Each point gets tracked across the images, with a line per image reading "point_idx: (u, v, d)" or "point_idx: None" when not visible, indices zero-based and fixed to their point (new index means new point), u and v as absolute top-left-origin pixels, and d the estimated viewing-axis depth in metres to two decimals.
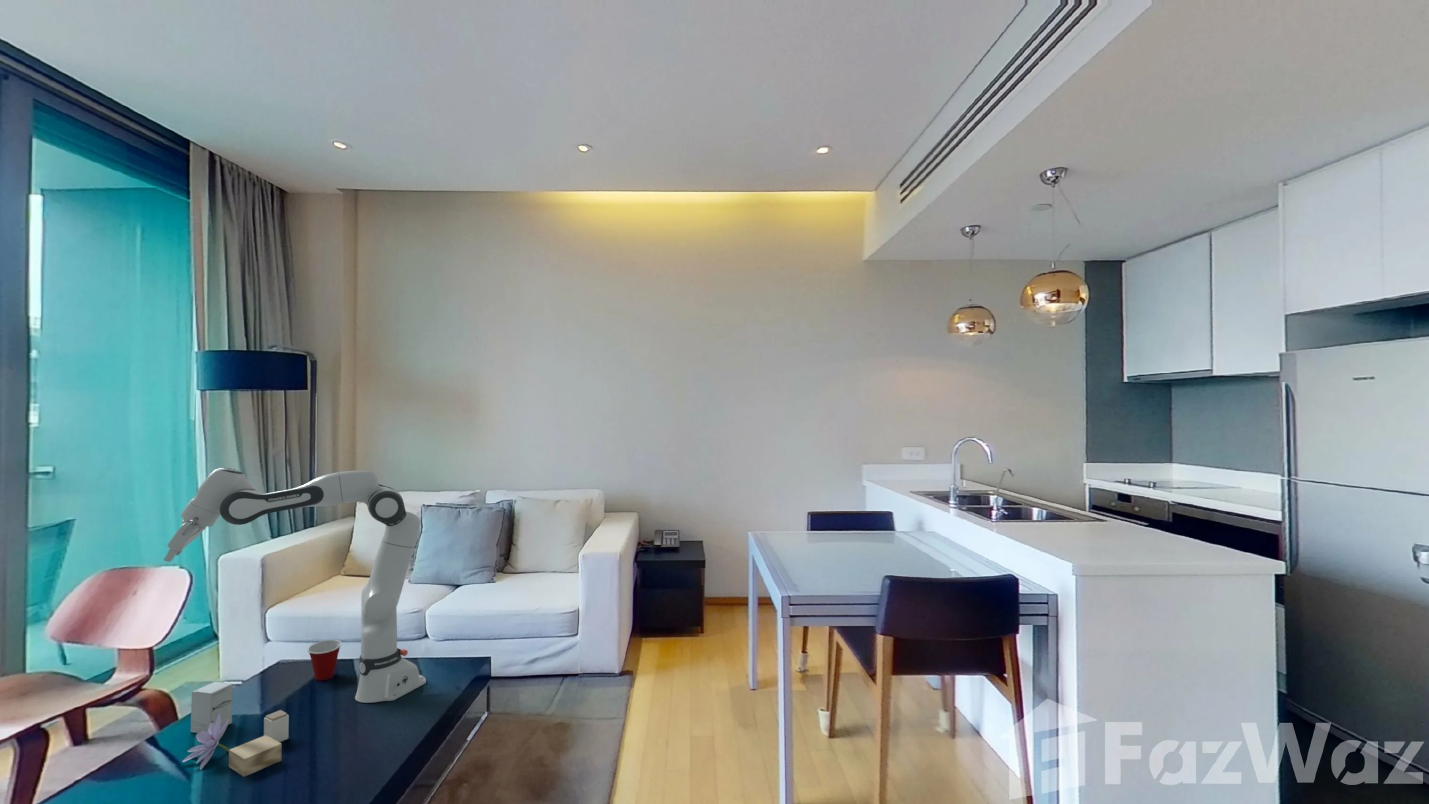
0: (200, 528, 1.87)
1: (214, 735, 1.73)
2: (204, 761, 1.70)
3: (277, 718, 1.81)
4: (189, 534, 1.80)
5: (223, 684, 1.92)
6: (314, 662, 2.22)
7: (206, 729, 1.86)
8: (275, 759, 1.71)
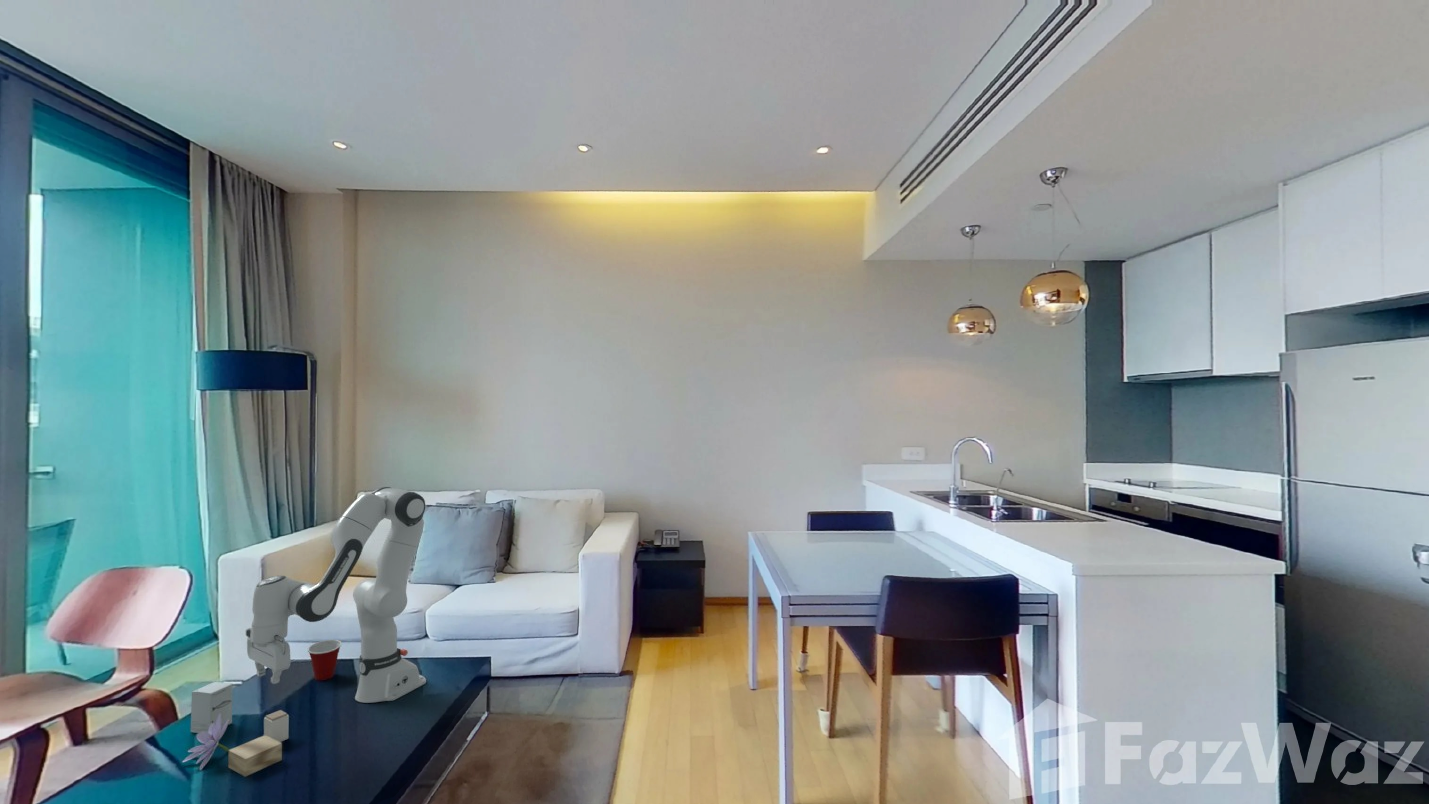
0: None
1: (214, 735, 1.73)
2: (204, 761, 1.70)
3: (277, 718, 1.81)
4: (288, 650, 1.78)
5: (223, 684, 1.92)
6: (314, 662, 2.22)
7: (206, 729, 1.86)
8: (275, 758, 1.71)
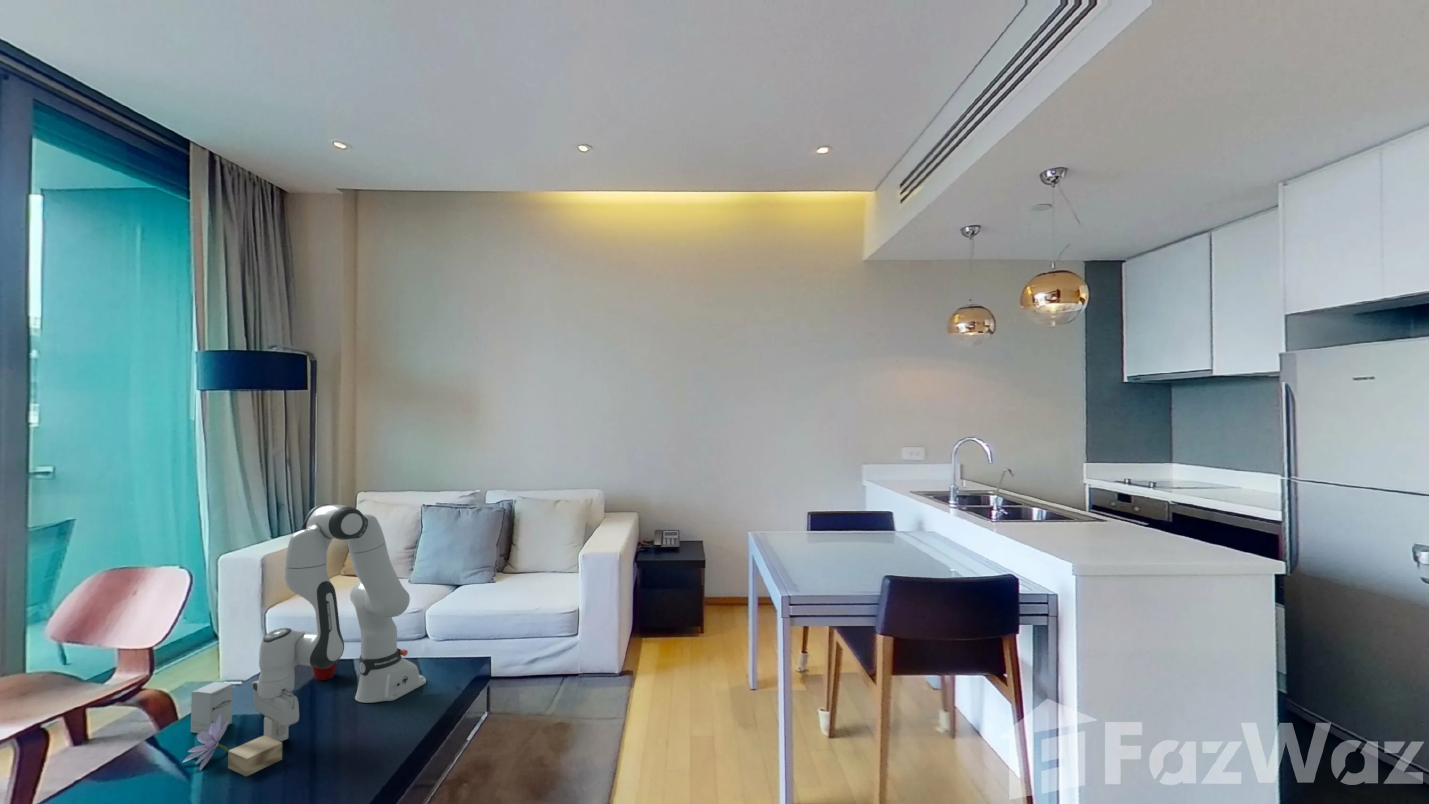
0: None
1: (214, 736, 1.72)
2: (204, 762, 1.70)
3: None
4: (297, 704, 1.79)
5: (223, 684, 1.92)
6: None
7: (206, 729, 1.86)
8: (276, 758, 1.71)
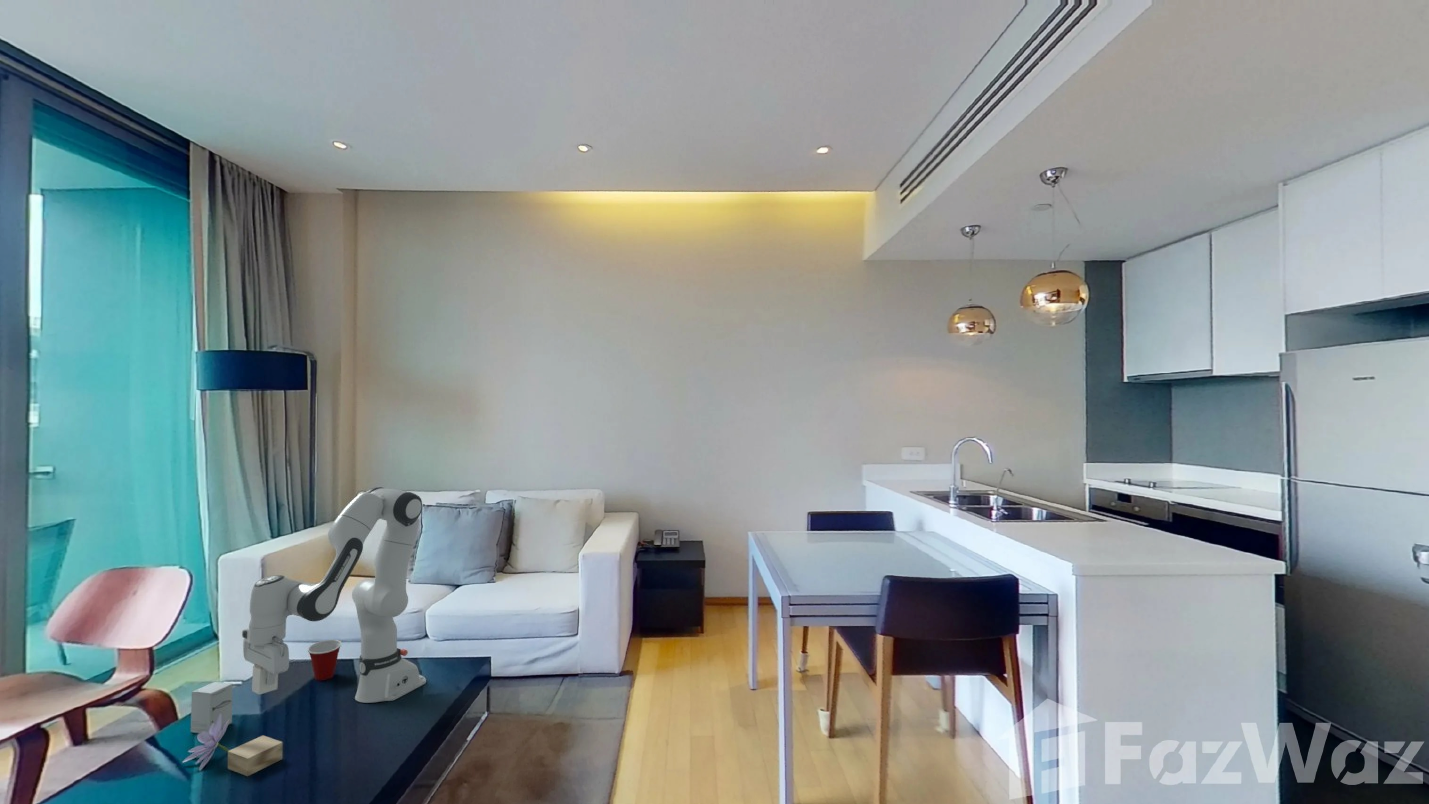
0: None
1: (214, 736, 1.72)
2: (204, 762, 1.70)
3: None
4: (287, 652, 1.73)
5: (223, 684, 1.92)
6: (314, 662, 2.22)
7: (206, 729, 1.86)
8: (276, 757, 1.71)
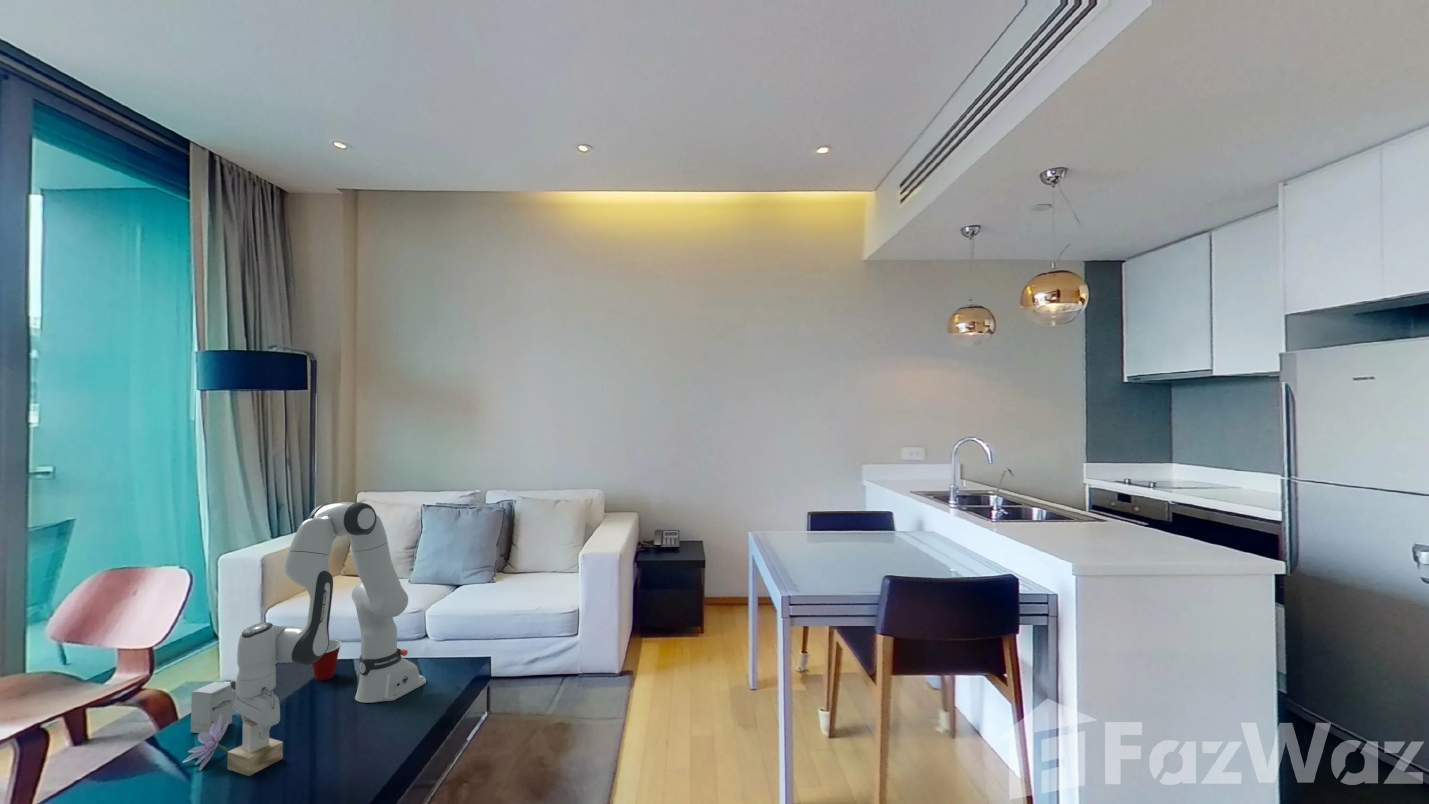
0: None
1: (214, 736, 1.72)
2: (204, 762, 1.70)
3: None
4: (278, 704, 1.67)
5: (223, 684, 1.92)
6: (314, 662, 2.22)
7: (206, 729, 1.86)
8: (276, 757, 1.72)
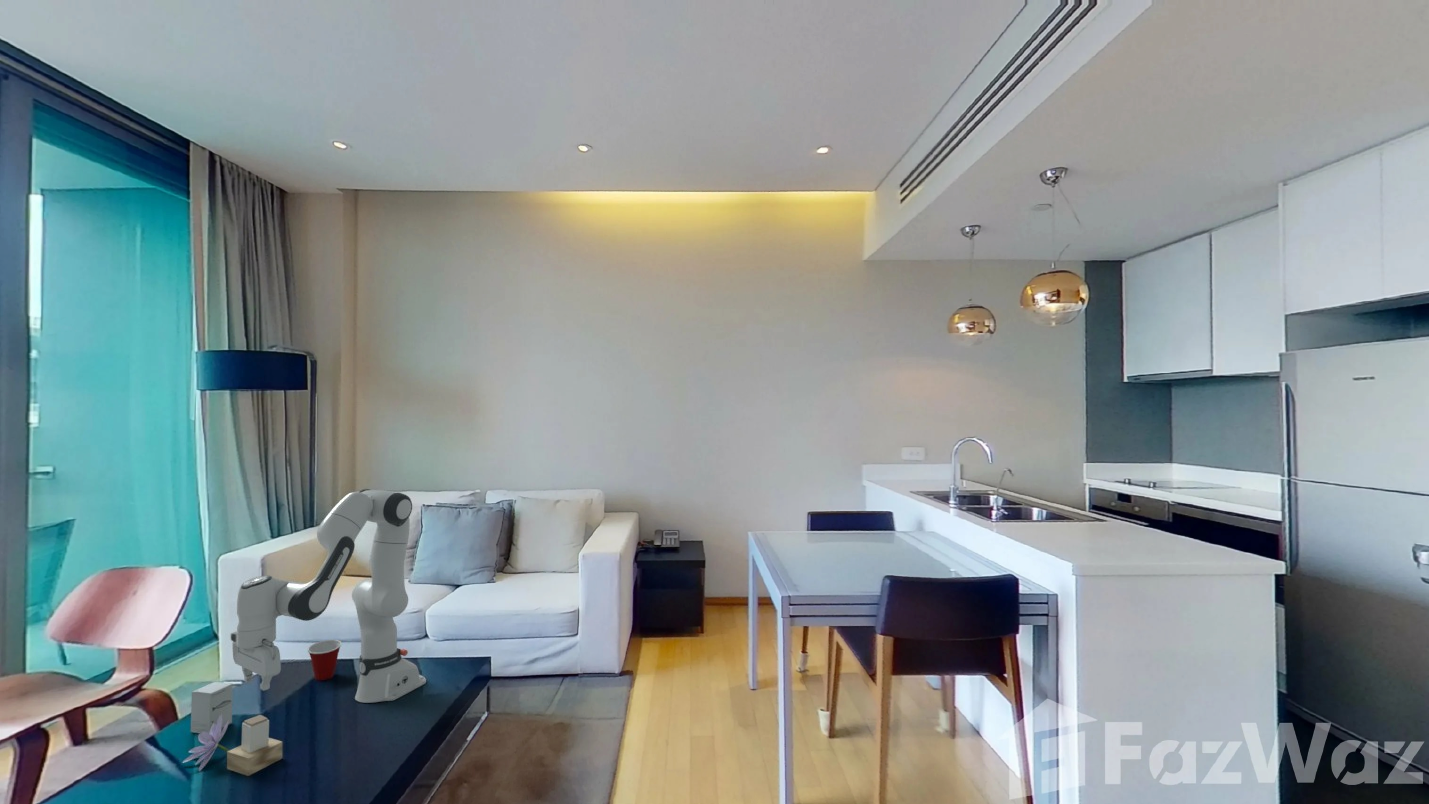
0: None
1: (214, 736, 1.72)
2: (203, 762, 1.69)
3: (256, 723, 1.69)
4: (278, 655, 1.67)
5: (223, 684, 1.92)
6: (314, 662, 2.22)
7: (206, 729, 1.86)
8: (276, 757, 1.72)
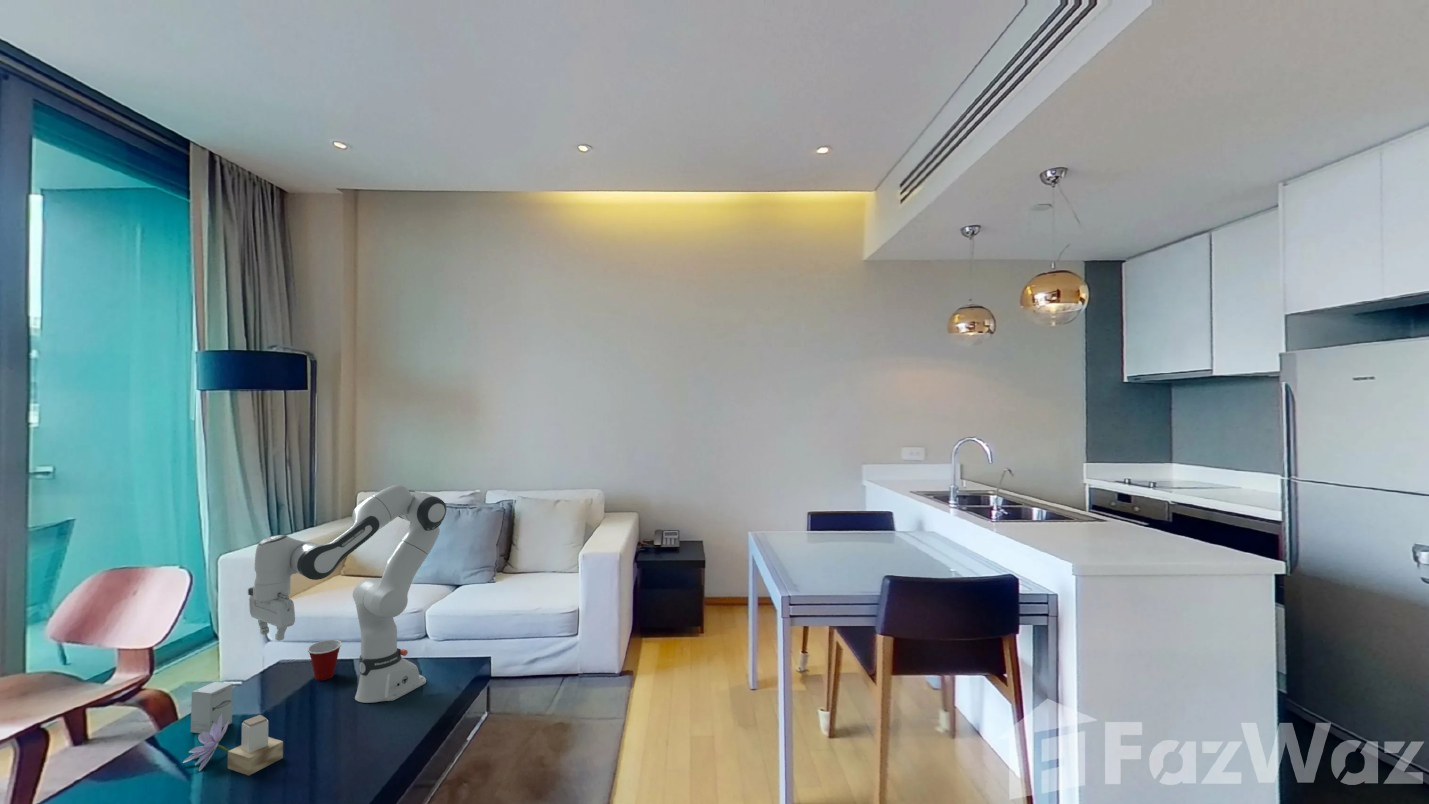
0: None
1: (214, 737, 1.72)
2: (203, 763, 1.69)
3: (256, 724, 1.69)
4: (293, 607, 1.79)
5: (223, 684, 1.92)
6: (314, 662, 2.22)
7: (206, 729, 1.86)
8: (277, 757, 1.72)
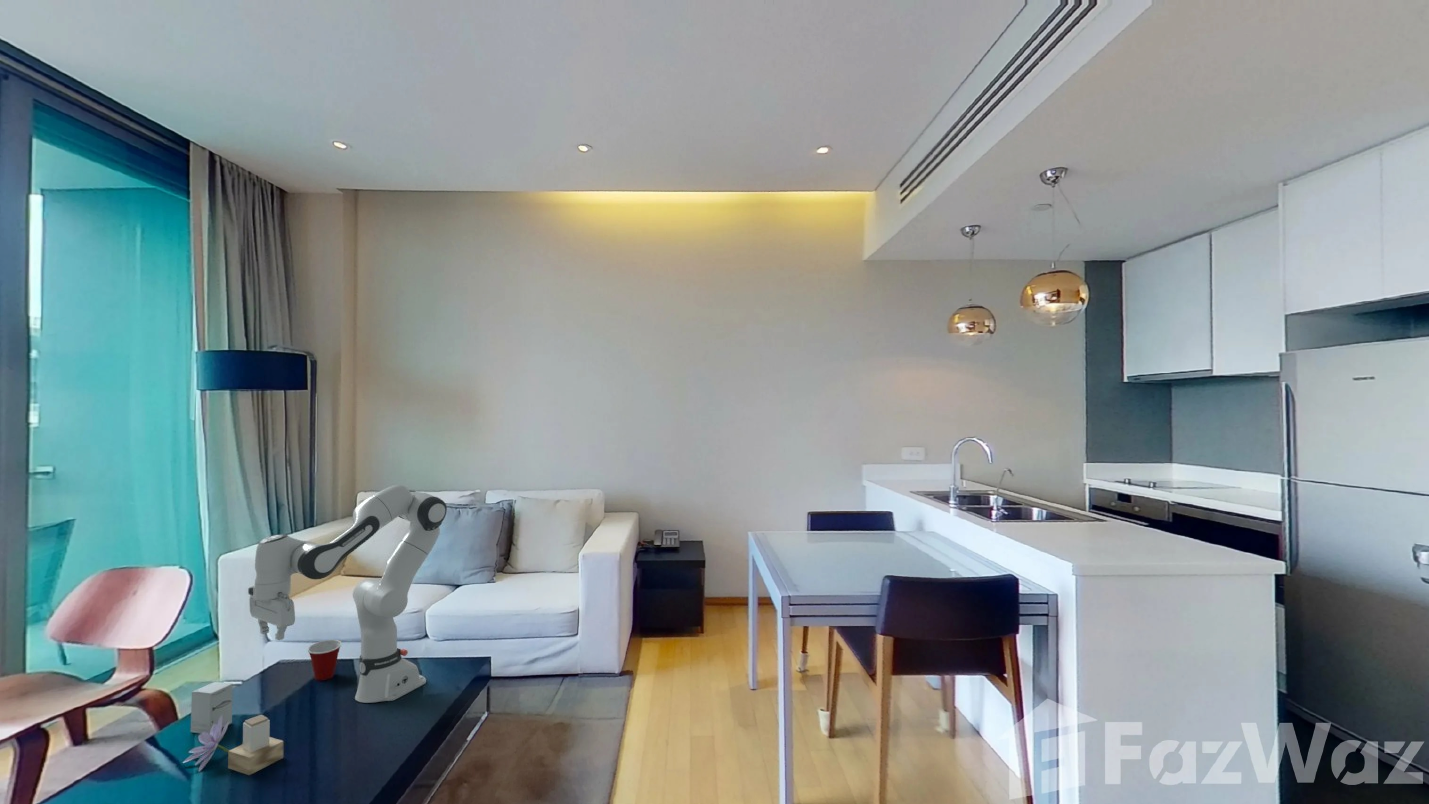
0: None
1: (214, 737, 1.72)
2: (203, 763, 1.69)
3: (257, 723, 1.69)
4: (293, 607, 1.79)
5: (223, 684, 1.92)
6: (314, 662, 2.22)
7: (206, 729, 1.86)
8: (277, 756, 1.72)
